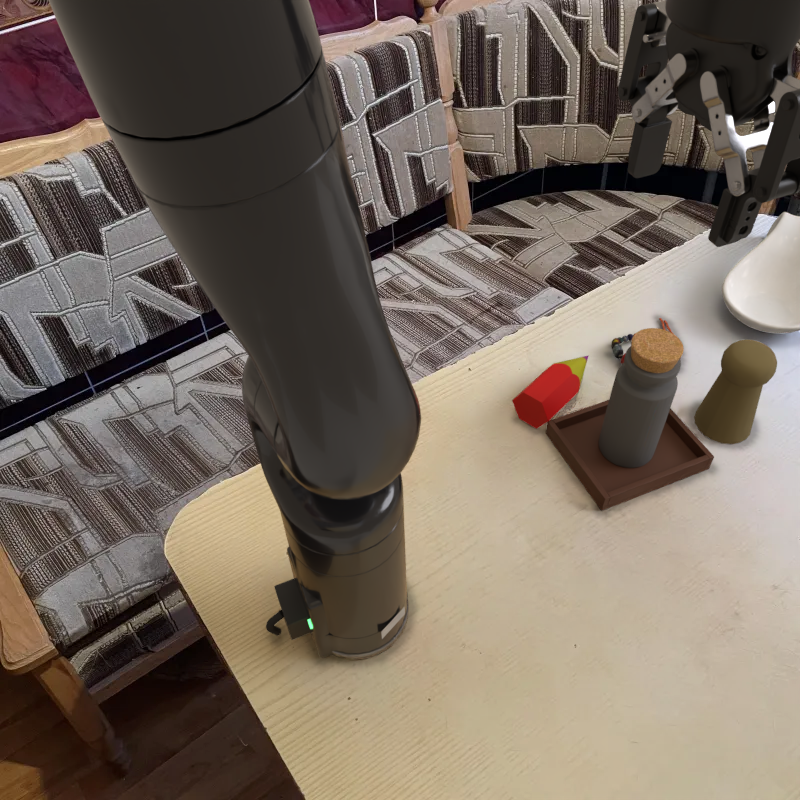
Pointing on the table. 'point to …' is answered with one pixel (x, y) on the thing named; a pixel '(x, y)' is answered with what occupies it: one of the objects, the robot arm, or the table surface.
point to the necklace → (616, 342)
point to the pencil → (550, 391)
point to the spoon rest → (768, 280)
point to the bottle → (641, 398)
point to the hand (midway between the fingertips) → (681, 205)
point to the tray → (617, 484)
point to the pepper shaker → (736, 392)
